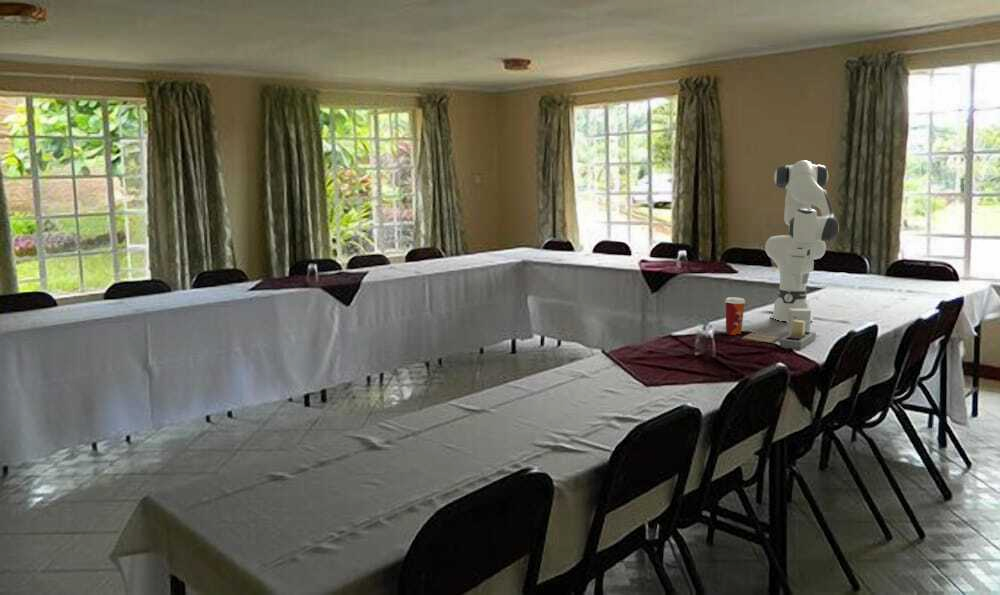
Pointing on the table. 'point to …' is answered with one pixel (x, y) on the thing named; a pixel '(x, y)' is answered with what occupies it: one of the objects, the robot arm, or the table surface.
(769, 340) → the pad
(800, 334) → the peg
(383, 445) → the table surface
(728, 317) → the coffee cup
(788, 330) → the small box
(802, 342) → the grey slotted block
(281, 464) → the table surface
